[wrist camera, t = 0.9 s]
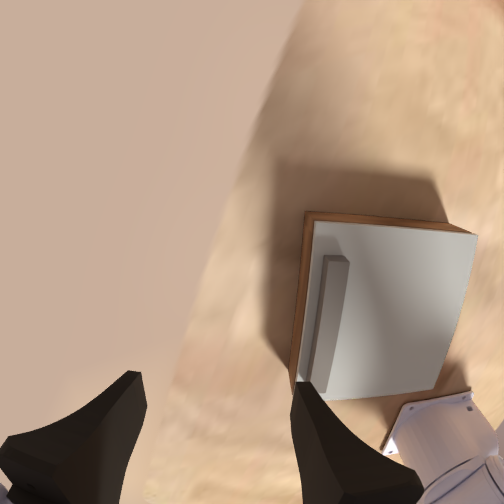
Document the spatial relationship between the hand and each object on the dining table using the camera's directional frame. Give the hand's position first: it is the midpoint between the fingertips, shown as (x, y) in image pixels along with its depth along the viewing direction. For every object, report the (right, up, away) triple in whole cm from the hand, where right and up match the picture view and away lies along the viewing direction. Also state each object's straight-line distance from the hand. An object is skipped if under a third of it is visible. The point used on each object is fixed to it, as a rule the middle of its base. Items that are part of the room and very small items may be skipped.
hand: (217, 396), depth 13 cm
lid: (+10, +2, +7) cm, 13 cm away
